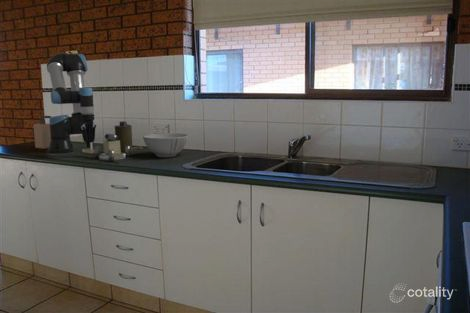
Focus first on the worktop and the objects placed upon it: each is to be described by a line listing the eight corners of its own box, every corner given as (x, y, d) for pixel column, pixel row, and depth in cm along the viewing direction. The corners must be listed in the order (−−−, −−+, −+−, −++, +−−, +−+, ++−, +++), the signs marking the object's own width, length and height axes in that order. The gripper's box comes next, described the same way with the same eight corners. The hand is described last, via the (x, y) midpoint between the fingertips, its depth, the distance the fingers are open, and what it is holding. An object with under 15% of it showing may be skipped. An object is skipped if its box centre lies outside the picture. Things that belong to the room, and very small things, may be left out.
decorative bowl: (187, 158, 243) (187, 137, 241) (140, 159, 242) (139, 138, 240) (190, 151, 269) (189, 132, 267) (147, 152, 268) (146, 133, 266)
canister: (128, 155, 258) (127, 122, 254) (112, 154, 260) (111, 122, 256) (136, 152, 268) (134, 120, 265) (121, 152, 270) (119, 120, 267)
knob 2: (126, 156, 252) (126, 146, 251) (124, 155, 255) (123, 145, 254) (144, 153, 260) (143, 144, 259) (141, 153, 263) (140, 143, 262)
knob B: (101, 156, 252) (100, 146, 251) (98, 157, 249) (97, 147, 248) (84, 156, 255) (83, 146, 254) (81, 156, 252) (80, 146, 251)
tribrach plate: (94, 158, 248) (92, 134, 246) (118, 155, 258) (116, 132, 256) (106, 161, 237) (105, 136, 235) (130, 158, 247) (129, 134, 245)
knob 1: (107, 160, 237) (106, 150, 236) (111, 160, 240) (111, 149, 239) (123, 162, 232) (122, 151, 231) (127, 161, 235) (126, 150, 234)
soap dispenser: (35, 147, 294) (32, 115, 290) (46, 146, 301) (43, 115, 298) (47, 148, 288) (44, 116, 284) (58, 147, 295) (55, 115, 291)
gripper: (88, 113, 258) (91, 151, 262) (74, 114, 246) (77, 154, 250) (99, 113, 256) (101, 151, 260) (86, 114, 244) (89, 155, 247)
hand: (90, 153), depth 255 cm, fingers closed
